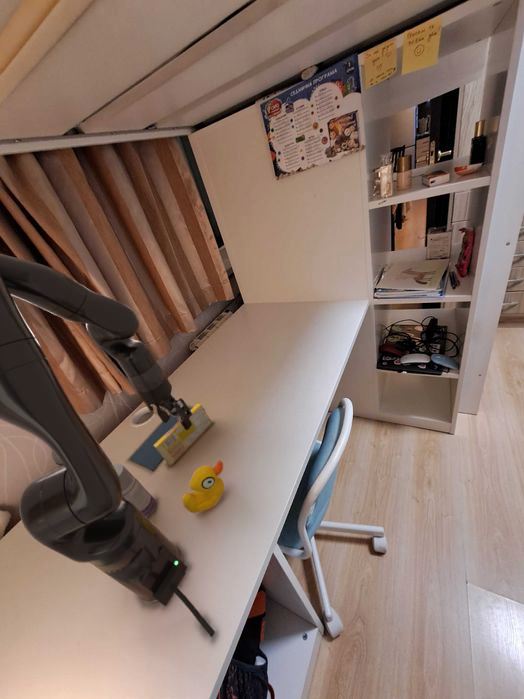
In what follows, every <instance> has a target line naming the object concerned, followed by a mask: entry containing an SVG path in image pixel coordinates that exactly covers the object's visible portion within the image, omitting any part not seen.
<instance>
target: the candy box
mask: <svg viewBox="0 0 524 699" xmlns="http://www.w3.org/2000/svg"><path fill="white" fill-rule="evenodd" d="M191 408H192V409H191V410H190V411H191V413H192V415H191V416H190V418H189V420H190V421H191V423H192V426H191V427H190V428H189V429H188V430H185V429H184V427H183V426H182V424H181V423H180V421H179V422H178V423H176V424H175V425H174V426H173V427H172V428H171V429H170V430H169V431H168V432H167V433H166V434H165V435H164V436H163V437H162V438H161V439H159V440H158V441H157V442H156V443H155V444H154V447H155V448H156V449H157V450H158V452H159V453H160V454H161V455H162V457H163V458H164V459H163V460H164V461H165V462H166V463H167V465H168V466H170V467H171V466H173V464H174V463H175V462H176V461H177V460H178V459H179V458H180V457H181V456H182V455H183V454H184V453H185V452H186V451H187V450H188V449H189V448H190V447H191V446H192V445H193V444H194V443H195V442H196V441H197V440H198V439H199V438H200V437H201V436H202V435H203V433H204V432H206V430H208V428H209V427H210V426H211V425H212V424H213V422H212V420H211V419H210V417H209V416H208V414H207V412H206V411H205V409H204V407H203V405H202V403H199V402H198V403H196V404H195V405H194V406H193V407H191Z"/></svg>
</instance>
